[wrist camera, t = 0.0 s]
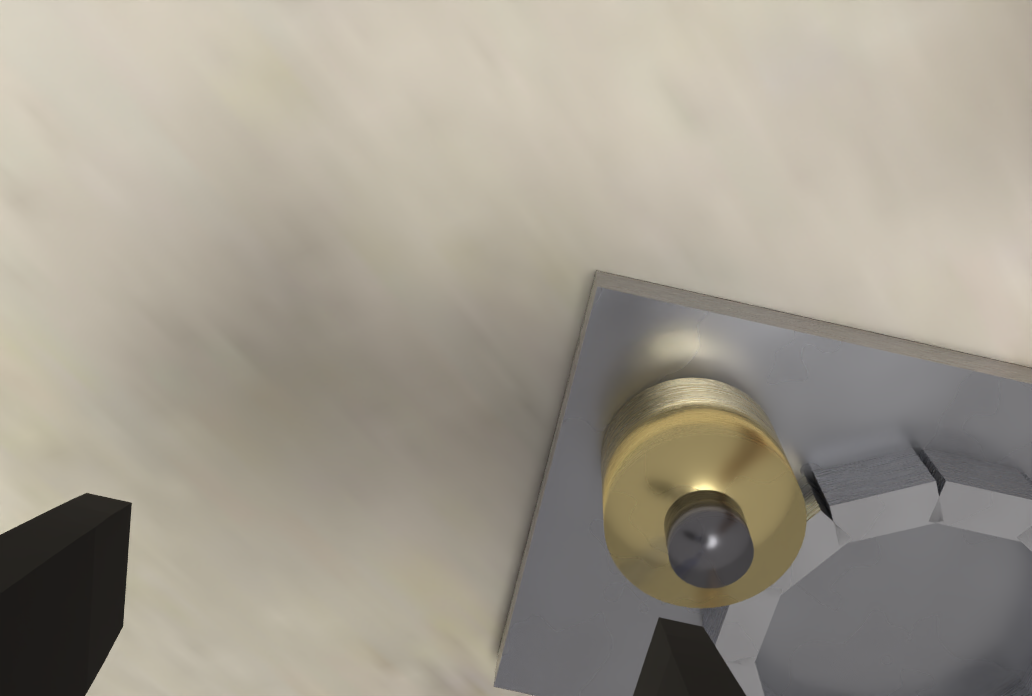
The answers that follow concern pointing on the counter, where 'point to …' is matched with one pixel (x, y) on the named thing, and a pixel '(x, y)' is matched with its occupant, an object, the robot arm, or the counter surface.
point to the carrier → (777, 507)
